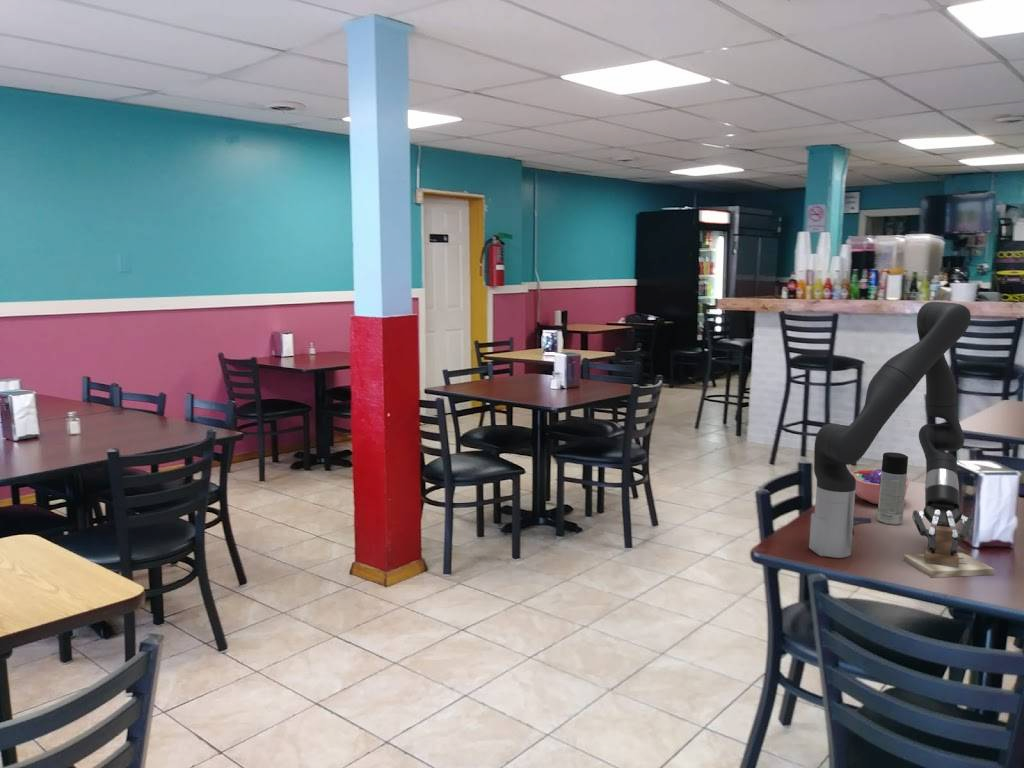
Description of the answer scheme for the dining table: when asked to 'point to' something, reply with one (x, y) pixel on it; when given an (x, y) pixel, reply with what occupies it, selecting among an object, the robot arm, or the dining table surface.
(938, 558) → the brown wooden stepped block
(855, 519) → the bracket
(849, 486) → the robot arm
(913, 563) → the board
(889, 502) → the spray can
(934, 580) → the dining table surface
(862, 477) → the cell model
